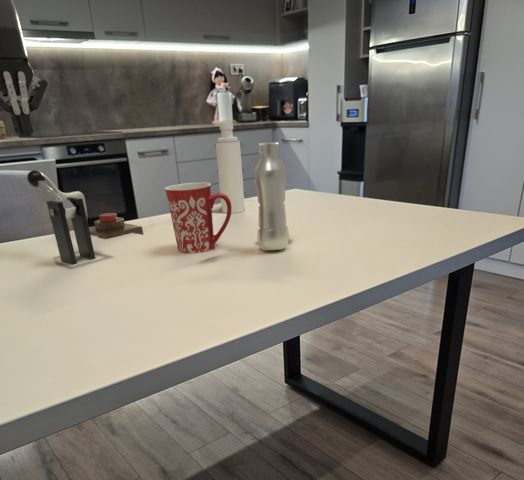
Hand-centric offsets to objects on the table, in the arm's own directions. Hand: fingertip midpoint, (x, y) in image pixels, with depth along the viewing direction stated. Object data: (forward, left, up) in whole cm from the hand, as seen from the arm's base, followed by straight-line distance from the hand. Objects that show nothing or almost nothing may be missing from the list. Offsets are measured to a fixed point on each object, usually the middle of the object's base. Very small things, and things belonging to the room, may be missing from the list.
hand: (25, 137), depth 91 cm
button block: (-7, +18, -24) cm, 31 cm away
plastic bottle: (+36, +29, -24) cm, 52 cm away
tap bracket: (+10, 0, -24) cm, 26 cm away
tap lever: (+4, 0, -11) cm, 12 cm away
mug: (+26, +19, -24) cm, 40 cm away
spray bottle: (-2, +55, -24) cm, 60 cm away
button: (-7, +18, -20) cm, 28 cm away
